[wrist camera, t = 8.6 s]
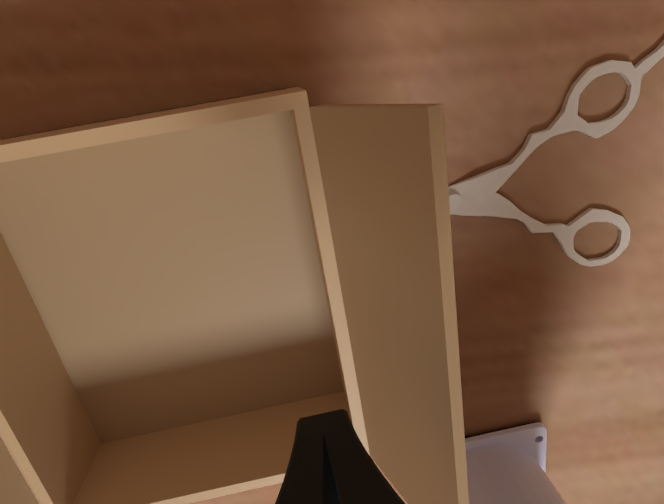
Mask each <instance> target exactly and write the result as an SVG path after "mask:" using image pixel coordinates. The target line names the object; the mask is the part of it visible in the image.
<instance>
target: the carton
mask: <svg viewBox="0 0 664 504" xmlns="http://www.w3.org/2000/svg"><path fill="white" fill-rule="evenodd" d="M340 409H344V410H346V411H347V412H348V416H349V418H350V421H351V423H352V425H353V428H354V430H355V432H356V434H357V435H358V437H359V439H360V441H361V443H362V444H363V446H364V448H365V449H366V451H367V453H368V454H369V456H370V452H369V447H368V441H367V435H366V430H365V424H364V418H363V412H362V407H361V401H360V395H359V389H358V384H357V378H356V372H355V366H354V361H353V355H352V349H351V344H350V338H349V332H348V326H347V321H346V315H345V309H344V303H343V298H342V292H341V286H340V281H339V275H338V269H337V263H336V258H335V252H334V246H333V240H332V235H331V229H330V223H329V218H328V212H327V206H326V200H325V195H324V189H323V183H322V177H321V172H320V166H319V160H318V154H317V149H316V143H315V137H314V132H313V126H312V120H311V114H310V109H309V103H308V97H307V91H306V90H304V89H302V88H300V87H293V88H288V89H282V90H277V91H271V92H265V93H260V94H254V95H249V96H243V97H237V98H232V99H226V100H221V101H215V102H209V103H204V104H198V105H193V106H187V107H181V108H176V109H170V110H165V111H159V112H153V113H148V114H142V115H137V116H131V117H125V118H120V119H114V120H109V121H103V122H98V123H92V124H86V125H81V126H75V127H70V128H64V129H58V130H53V131H47V132H42V133H36V134H30V135H25V136H19V137H14V138H8V139H2V140H0V436H1V438H2V440H3V441H4V443H5V445H6V447H7V448H8V450H9V452H10V453H11V455H12V457H13V459H14V460H15V462H16V464H17V465H18V467H19V469H20V471H21V472H22V474H23V476H24V477H25V479H26V481H27V483H28V484H29V486H30V488H31V489H32V491H33V493H34V495H35V496H36V498H37V500H38V502H39V503H40V504H189V503H193V502H198V501H202V500H207V499H211V498H216V497H220V496H225V495H229V494H233V493H238V492H242V491H247V490H251V489H256V488H260V487H265V486H269V485H274V484H278V483H282V482H283V480H284V477H285V473H286V470H287V467H288V463H289V460H290V456H291V452H292V448H293V444H294V439H295V433H296V426H297V422H298V420H299V419H300V418H303V417H308V416H312V415H317V414H321V413H326V412H331V411H335V410H340Z"/></svg>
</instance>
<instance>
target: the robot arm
mask: <svg viewBox="0 0 664 504" xmlns="http://www.w3.org/2000/svg"><path fill="white" fill-rule="evenodd" d="M546 437H547V430H546V428H545V426H544V425H543V424H542V423H540V422H537V423H532V424H527V425H523V426H518V427H514V428H509V429H505V430H500V431H496V432H492V433H487V434H483V435H478V436H474V437H469V438H465V450H466V465H467V480H468V496H469V504H566V503H565V502H564V500H563V499H562V497H561V496H560V494H559V493H558V491H557V490H556V488H555V487H554V485H553V484H552V482H551V481H550V480H549V478H548V477H547V475H546ZM275 504H405V503H404V502H403V501H402V499H401V498H400V497H399V496H398V494H397V493H396V492H395V491H394V489H393V488H392V487H391V485H390V484H389V483H388V481H387V480H386V479H385V478H384V476H383V475H382V473H381V472H380V471H379V469H378V468H377V466H376V465H375V463H374V462H373V460H372V459H371V457H370V456H369V454H368V453H367V451H366V449H365V448H364V446H363V444H362V443H361V441H360V439H359V437H358V435H357V434H356V432H355V430H354V428H353V425H352V423H351V421H350V418H349V416H348V412H347V411H346V410H344V409H340V410H335V411H331V412H326V413H321V414H317V415H312V416H308V417H303V418H300V419H299V420H298V422H297V426H296V433H295V439H294V444H293V448H292V452H291V456H290V460H289V463H288V467H287V470H286V473H285V477H284V480H283V483H282V486H281V489H280V492H279V495H278V498H277V500H276V503H275Z"/></svg>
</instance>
